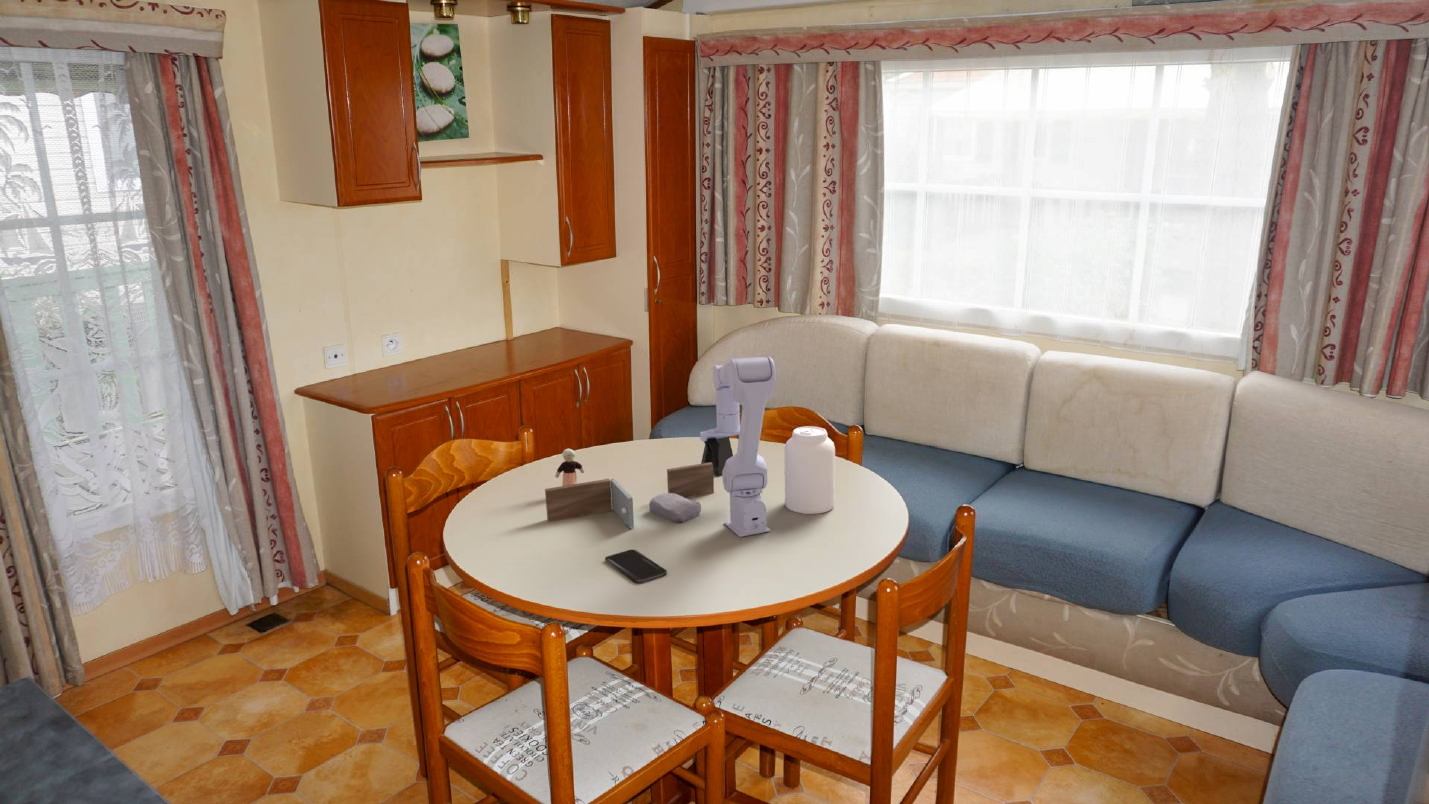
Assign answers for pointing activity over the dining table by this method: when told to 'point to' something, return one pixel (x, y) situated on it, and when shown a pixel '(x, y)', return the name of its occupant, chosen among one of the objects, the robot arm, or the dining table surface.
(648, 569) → the phone
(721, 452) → the phone stand
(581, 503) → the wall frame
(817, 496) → the can
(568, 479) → the grandmother figurine
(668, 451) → the dining table surface
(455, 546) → the dining table surface
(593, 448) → the dining table surface
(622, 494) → the door
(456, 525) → the dining table surface
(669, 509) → the stone block
